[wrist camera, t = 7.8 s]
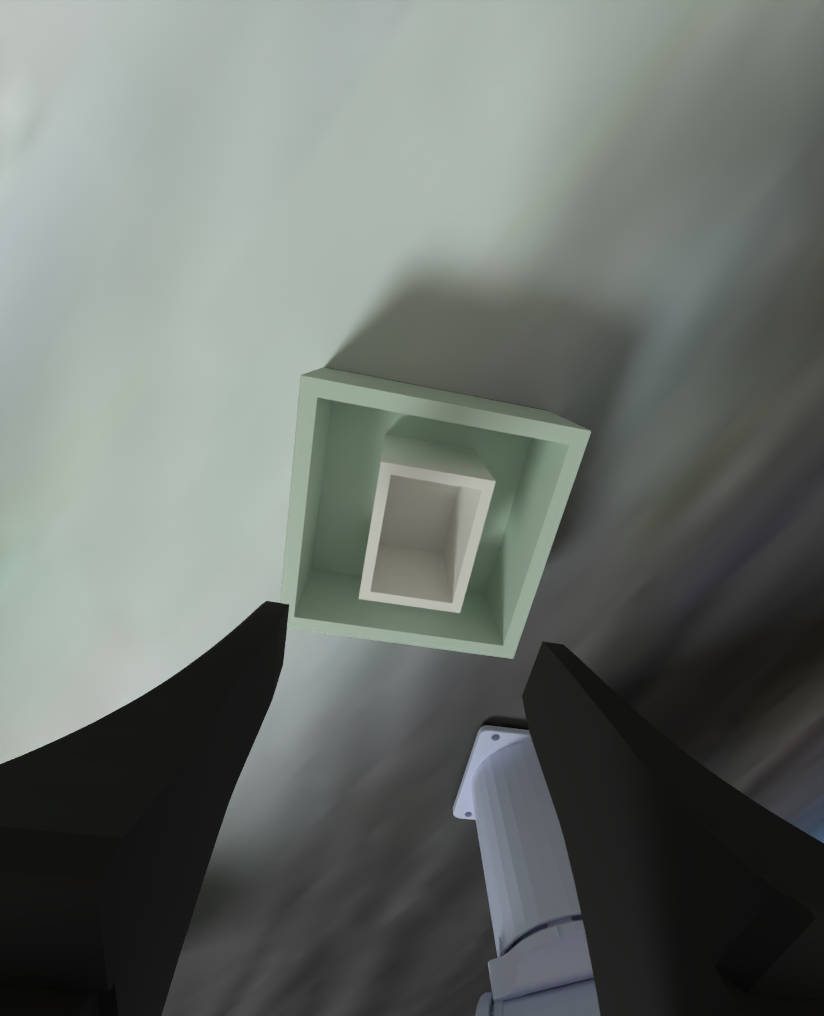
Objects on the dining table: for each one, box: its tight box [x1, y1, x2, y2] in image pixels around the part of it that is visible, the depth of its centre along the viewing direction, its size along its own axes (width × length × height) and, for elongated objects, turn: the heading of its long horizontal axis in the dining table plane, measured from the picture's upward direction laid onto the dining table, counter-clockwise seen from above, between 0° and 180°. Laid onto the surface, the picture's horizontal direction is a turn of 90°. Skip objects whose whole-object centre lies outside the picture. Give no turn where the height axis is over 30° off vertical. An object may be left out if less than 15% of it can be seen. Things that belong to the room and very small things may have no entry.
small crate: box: [358, 434, 496, 613], centre depth 17 cm, size 4×6×4 cm
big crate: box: [280, 367, 591, 659], centre depth 18 cm, size 10×10×4 cm
